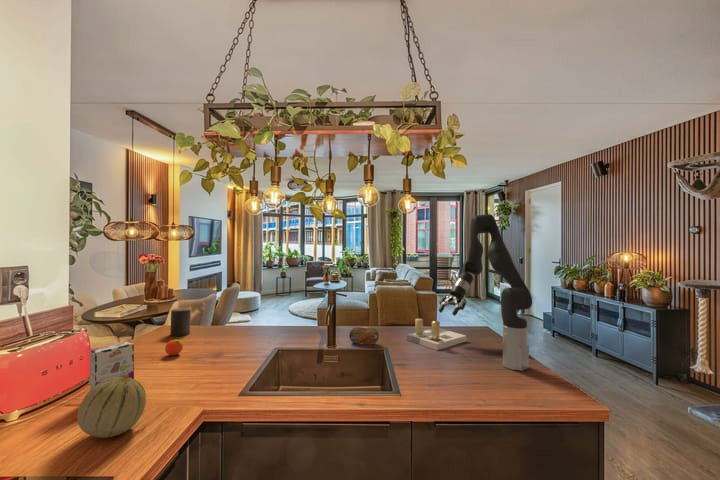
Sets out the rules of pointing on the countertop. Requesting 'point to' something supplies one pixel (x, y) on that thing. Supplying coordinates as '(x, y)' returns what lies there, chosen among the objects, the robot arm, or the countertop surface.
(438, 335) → the brass pin
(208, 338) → the countertop surface
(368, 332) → the tin
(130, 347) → the candy bar box
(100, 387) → the cantaloupe
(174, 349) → the red tomato
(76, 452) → the countertop surface
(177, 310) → the pillar candle
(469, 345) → the countertop surface
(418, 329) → the pegboard
